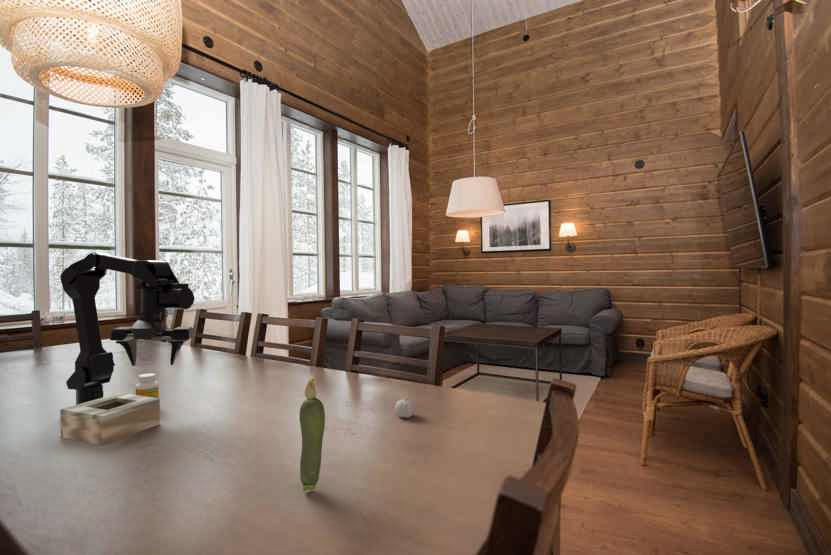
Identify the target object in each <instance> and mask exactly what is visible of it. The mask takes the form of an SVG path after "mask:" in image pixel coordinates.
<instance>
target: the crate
mask: <svg viewBox="0 0 831 555" xmlns="http://www.w3.org/2000/svg"><path fill="white" fill-rule="evenodd" d="M160 400H161V399H160V397H159V398H153V397H146V396H138V395H136V394H129V393H123V392H118V393H114V394H112V395H107V396H103V398H100V399H96V400H92V401H89V402H85V403H82V404H78V405H76V404H74V405H72V406H68V407H64V408H60V409H59V412H60V417H59V418H60V421H59V422H60V438H62V439H68V440H73V441H79V442H83V443H88V444H93V445H99V446H105V445H109V444H112V443H113V442H114V443H115V442H116V441H119V440H121V439H125V438H126V437H129V436H132V435H135V434H138V433H140V432H143V431H145V430H148V429H150V428H153V427H156V426H159V425H160V424H161V410H160V409H161V405H160V404H161V402H160Z"/></svg>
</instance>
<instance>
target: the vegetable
mask: <svg viewBox="0 0 831 555" xmlns="http://www.w3.org/2000/svg"><path fill="white" fill-rule="evenodd" d="M317 394H318V393H317V389H316V384H315V378H310V379H309V380H308V383H307V384H306V386H305V388H304V396H305V398H306V399H305V400H303V402H302V404H301V406H300V409H299V423H300V424H299V425H300V432H301V456H300V460H299V461H300V463H299V468H300V469H299V476H300V481H301V484H302V490H303V492H304V491H306V490H312V489H315V490H316V487H317V483H318V482H319V479H320V472H321V465H322V450H323V438H324V434H325V428H326V427H325V426H326V425H325V424H326V412H325V406H324V403H323V402H322V400H321V399H319V398H317ZM312 491H313V490H312ZM306 492H307V491H306Z"/></svg>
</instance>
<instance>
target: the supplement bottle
mask: <svg viewBox="0 0 831 555" xmlns="http://www.w3.org/2000/svg"><path fill="white" fill-rule="evenodd" d="M156 378H157V377H156V373H154V372H153V373H152V372H151V373H150V372H149V373H142V374H139V375H138V378H137V379H138V383H137V384H136V385H135V395H138V396H146V397H153V398H160V397H159V394H160V392H159V390H160V388H159V386H160V385H159V382H158V381H156Z"/></svg>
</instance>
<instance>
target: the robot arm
mask: <svg viewBox="0 0 831 555" xmlns="http://www.w3.org/2000/svg"><path fill="white" fill-rule="evenodd" d="M108 270H110V271H115V272H119V273H124V274H129V275H131V276H132V277H133V279H136V280H139V281H140V282H139V284H137V285H136V286H135V287H134V290H136V291H141V307H140V308H141V309H140V310H141V311H140V312H139V314H138V316H139V317H138V319H137V320H136V321H135V323H133V324H132V325H131V326H119V327H116V328H113V329H111V330H110V333H109V341H115V343H116V344H119V345H120V346H122V347H123V349H124V350H125V352H126V355H127V356H128V359H129V362H130V364H131V366H132V367H135V366H136V364H137V349H138V348H137V347H138V346H137V344H138V343H137V341H138V340H139V339H140V340H144V339H145V340H153V339H154V338H159V337H161V338H162V337H164V338H165V337H166V338H168V337H169V338H170V337H171V338H172V339H173V340H171V341H170V344H171V351H170V360H169V361H170V366H173V365H174V364H175V362H176V360H177V357H178V354H179V353H180V350H181V348H182V347H183V344H184V343H186V342H187V341H189V340H190V339H192V338H194V337H195V329H194V327H192V326H178V327H175V328H173V329H168V324H167V315H168V311H169V309H174V310H175V309H176V310H188V309H190V308H192V306H193V305H194V302H195V295H194V292H193V290H192V289H191V288H190V286H189V285H190V284H189V283H188V282H187V283H186V282H184V283H183V282H182V283H180V281H179V280H178V278H177V276H176V275H175V272H174V271H173V269H172V268H171V265H170V263H169V262H168V261H166V260H148V259H146V260H139V259H133V258H128V257H124V256H119V255H114V254H109V253H108V252H91V253H88V254H87V255H86V256H85V257H84V258H82V259H80V260H78V261H76V262H73V263H71V264H70V265H69V266H68V267H65V269H64V270H63V271H62V272H61V273H60V282H61V283H60V284H61V285H62V289H63V292H64V293H65V294H66V295H67V296H68V297H69V298H70V299H71V300H72V305H73V311H74V313H73V314H74V318H75V325H76V331H77V337H78V338H77V339H78V343H79V351H80V352H79V353H78V355H77V358H76V360H75V361H74V372H73V373H72V374H71V375H70V377H69V378H68V379H67V380H65V381H66V383H65V384H66V386H67V389H68V390H74V391H75V405H78V404H82V403H85V402H89V401H92V400H96V399H100V398H103V397H104V384H108V383H110V381H111V378H112V376H113V373H114V372H115V371H114V369H115V366H116V364H115V361H114V354H113V352H112V351H109V352H108V351H107V350H105V348H104V347H103V343H102V336H101V329H100V322H99V318H98V317H99V316H98V310H97V305H96V303H97V302H96V296H97V294H98V292H99V291H100V290H99V289H100V288H101V286H100V285H101V284H100V282H101V280H102V279H103V278H104V277H105V276H106V275H107V271H108Z"/></svg>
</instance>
